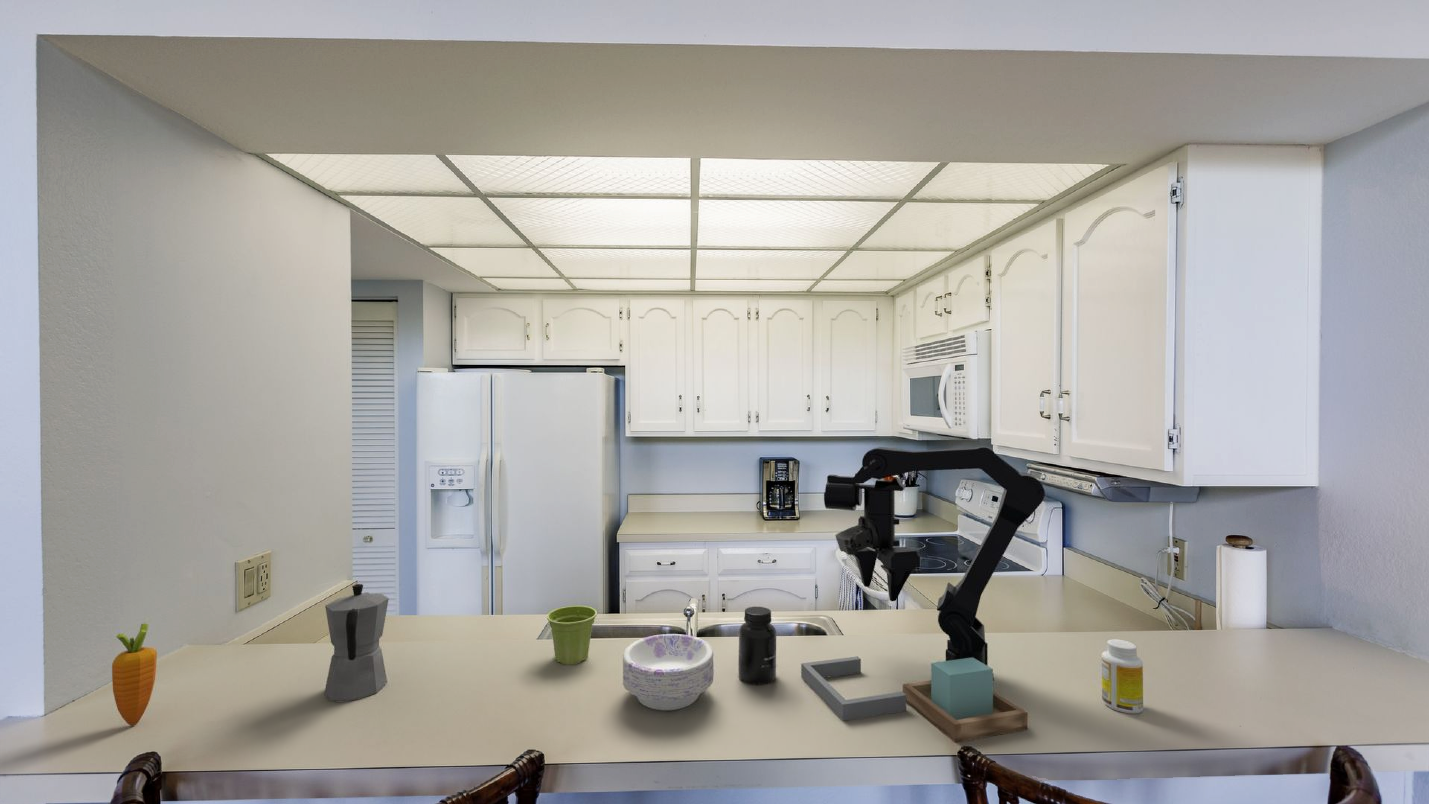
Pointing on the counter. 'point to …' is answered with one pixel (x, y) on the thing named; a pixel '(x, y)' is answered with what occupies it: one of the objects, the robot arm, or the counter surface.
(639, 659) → the paper bowls
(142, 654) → the carrot
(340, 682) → the coffeepot
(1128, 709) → the supplement bottle
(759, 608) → the supplement bottle
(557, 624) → the plant pot
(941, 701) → the tall aqua prism
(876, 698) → the bay
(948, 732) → the tray
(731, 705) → the counter surface
